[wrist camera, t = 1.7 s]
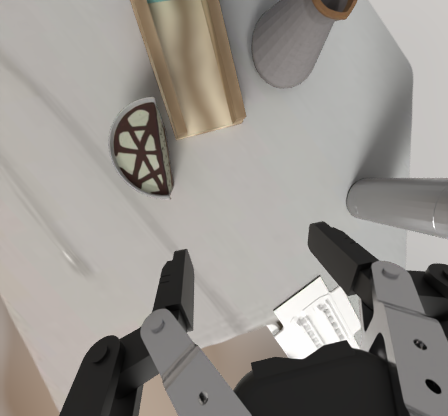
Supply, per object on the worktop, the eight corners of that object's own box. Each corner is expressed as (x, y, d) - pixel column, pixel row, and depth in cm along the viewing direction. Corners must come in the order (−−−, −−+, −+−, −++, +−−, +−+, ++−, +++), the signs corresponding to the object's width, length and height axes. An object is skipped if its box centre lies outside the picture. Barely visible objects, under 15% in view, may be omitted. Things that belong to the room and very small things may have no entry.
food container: (124, 121, 28) (90, 91, 18) (164, 120, 29) (152, 91, 19) (138, 198, 30) (115, 207, 20) (175, 194, 31) (169, 201, 22)
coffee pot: (265, 107, 32) (330, 48, 17) (233, 41, 29) (279, -96, 15) (355, 51, 34) (482, -45, 19) (333, -16, 31) (463, -190, 16)
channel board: (208, -11, 27) (213, -54, 22) (241, 123, 31) (251, 113, 26) (130, 0, 25) (115, -44, 20) (176, 140, 30) (173, 132, 25)
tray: (328, 265, 42) (341, 273, 38) (363, 334, 50) (376, 346, 46) (259, 317, 40) (266, 331, 37) (306, 380, 48) (316, 396, 45)
